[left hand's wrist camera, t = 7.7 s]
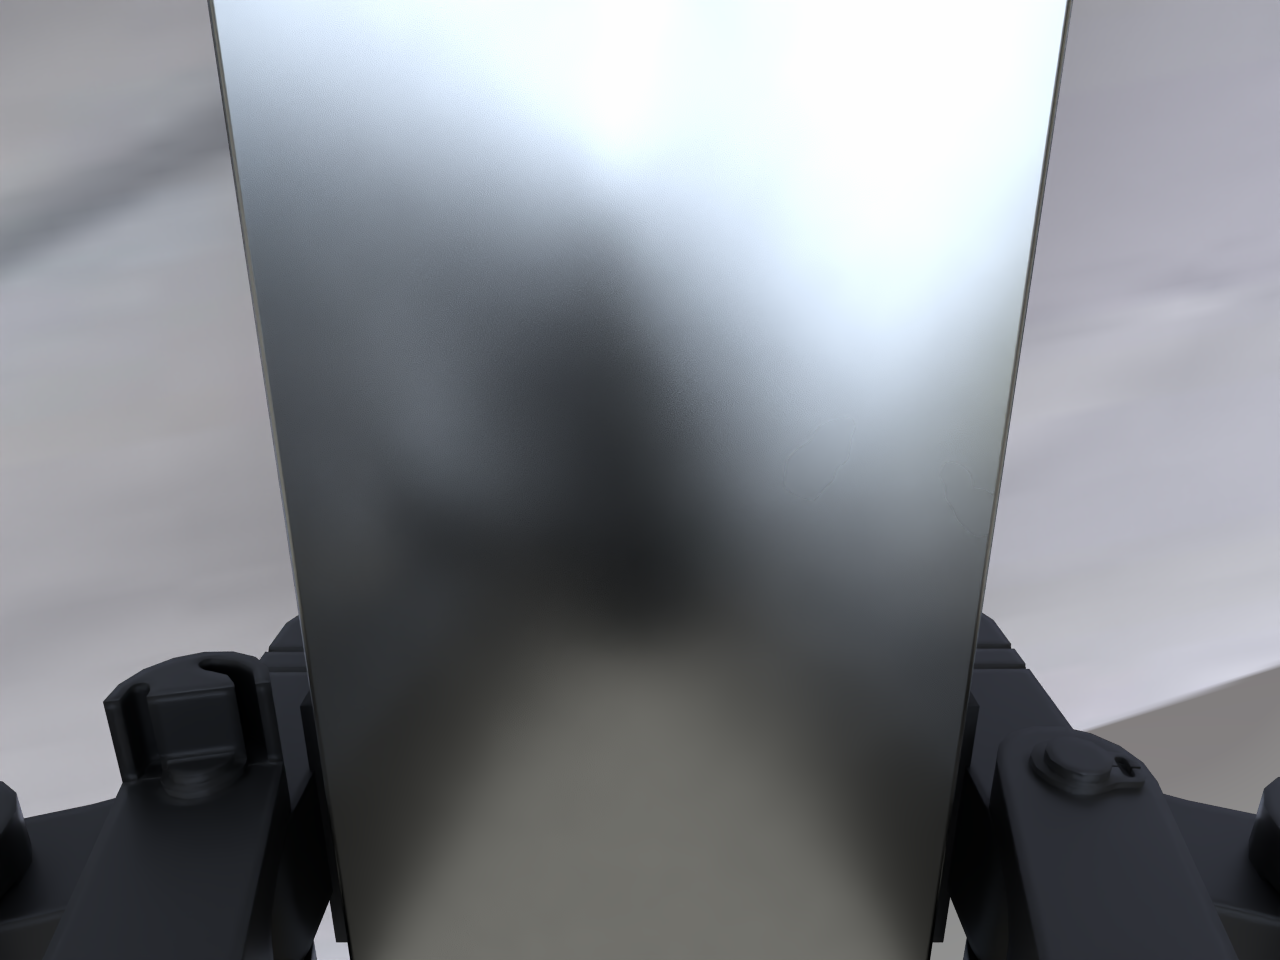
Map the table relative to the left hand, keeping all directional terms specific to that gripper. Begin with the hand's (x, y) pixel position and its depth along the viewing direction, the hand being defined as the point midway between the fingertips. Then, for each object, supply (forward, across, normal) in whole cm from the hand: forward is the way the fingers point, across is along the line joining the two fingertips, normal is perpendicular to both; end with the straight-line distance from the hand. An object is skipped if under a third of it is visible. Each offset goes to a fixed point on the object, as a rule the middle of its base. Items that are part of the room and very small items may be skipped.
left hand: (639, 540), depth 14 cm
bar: (+1, 0, -8) cm, 8 cm away
